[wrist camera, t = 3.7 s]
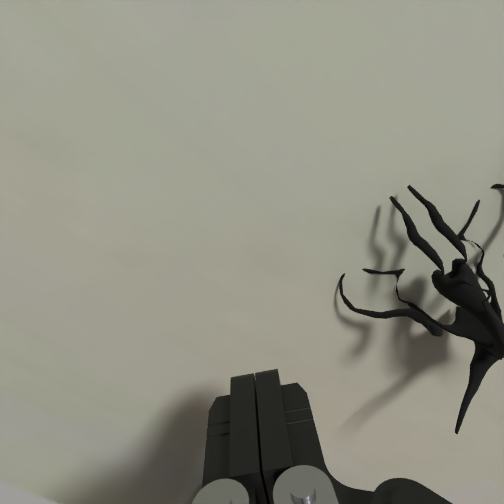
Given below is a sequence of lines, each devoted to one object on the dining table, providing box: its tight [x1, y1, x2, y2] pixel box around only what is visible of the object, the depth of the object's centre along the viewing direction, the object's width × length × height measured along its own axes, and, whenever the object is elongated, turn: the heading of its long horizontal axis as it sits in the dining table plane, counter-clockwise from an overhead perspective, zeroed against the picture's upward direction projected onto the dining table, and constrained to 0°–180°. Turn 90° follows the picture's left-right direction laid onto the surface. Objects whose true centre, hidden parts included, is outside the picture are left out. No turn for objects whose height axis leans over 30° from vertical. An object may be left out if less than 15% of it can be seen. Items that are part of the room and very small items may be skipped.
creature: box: [339, 184, 504, 434], centre depth 14 cm, size 8×5×8 cm
